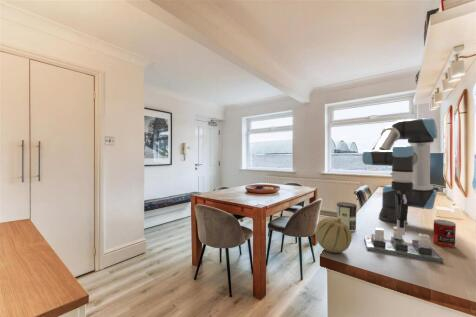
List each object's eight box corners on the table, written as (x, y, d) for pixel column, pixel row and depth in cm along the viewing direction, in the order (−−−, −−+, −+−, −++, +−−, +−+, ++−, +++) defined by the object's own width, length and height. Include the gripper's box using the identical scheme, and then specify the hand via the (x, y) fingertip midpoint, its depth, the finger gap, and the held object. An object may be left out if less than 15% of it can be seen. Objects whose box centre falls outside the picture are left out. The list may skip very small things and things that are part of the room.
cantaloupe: (317, 241, 106) (317, 211, 106) (351, 248, 99) (352, 215, 99) (312, 253, 93) (313, 219, 93) (351, 262, 86) (352, 224, 86)
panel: (364, 239, 110) (364, 221, 110) (430, 249, 99) (430, 229, 99) (367, 250, 97) (367, 230, 97) (443, 263, 86) (444, 240, 86)
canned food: (438, 246, 102) (438, 223, 102) (429, 240, 110) (430, 218, 109) (459, 249, 99) (459, 225, 99) (449, 242, 107) (449, 220, 107)
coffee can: (352, 226, 130) (353, 202, 130) (358, 232, 120) (359, 206, 120) (334, 224, 132) (334, 201, 132) (338, 230, 122) (339, 205, 122)
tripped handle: (393, 236, 102) (393, 226, 102) (401, 237, 101) (401, 227, 101) (394, 238, 100) (394, 228, 100) (402, 239, 99) (402, 229, 99)
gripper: (388, 178, 103) (387, 228, 104) (395, 182, 91) (393, 237, 92) (408, 179, 100) (407, 230, 101) (417, 183, 88) (415, 241, 89)
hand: (400, 234), depth 97 cm, fingers closed
